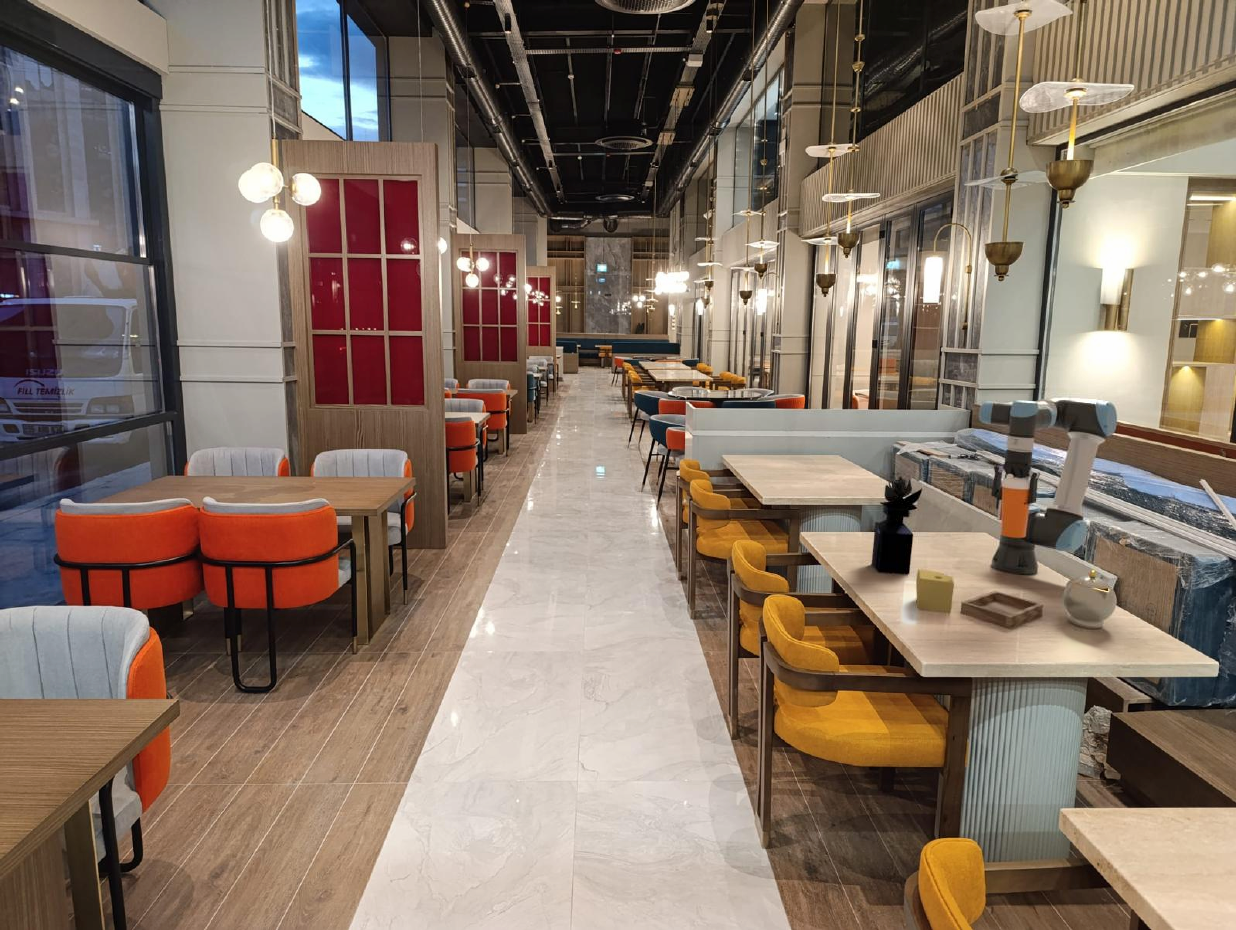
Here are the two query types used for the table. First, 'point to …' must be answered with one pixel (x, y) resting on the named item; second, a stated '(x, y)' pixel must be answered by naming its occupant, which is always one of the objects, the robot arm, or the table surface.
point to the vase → (895, 530)
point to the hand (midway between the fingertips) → (1010, 521)
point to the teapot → (1089, 601)
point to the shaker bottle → (1015, 506)
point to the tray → (1001, 609)
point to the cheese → (934, 591)
